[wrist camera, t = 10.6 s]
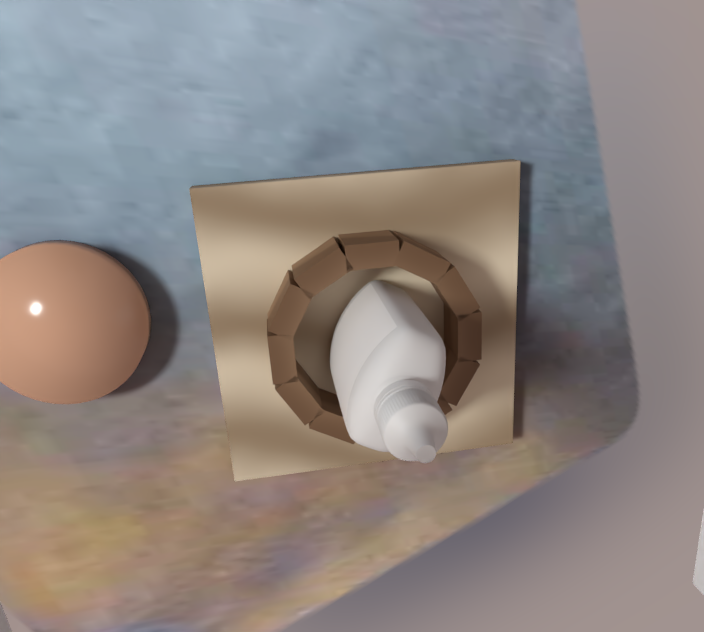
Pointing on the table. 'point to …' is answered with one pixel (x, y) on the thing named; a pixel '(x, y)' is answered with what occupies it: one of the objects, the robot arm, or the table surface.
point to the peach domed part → (69, 322)
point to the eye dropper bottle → (389, 373)
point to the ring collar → (342, 285)
